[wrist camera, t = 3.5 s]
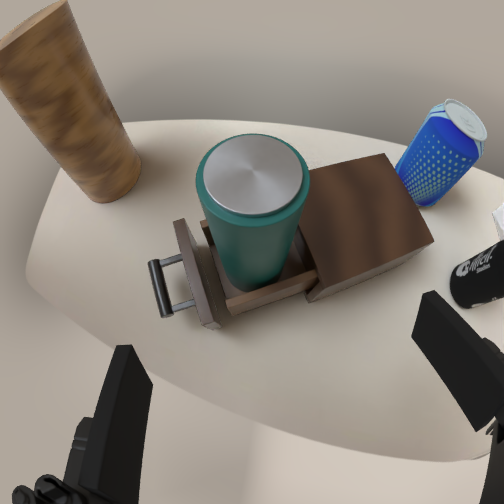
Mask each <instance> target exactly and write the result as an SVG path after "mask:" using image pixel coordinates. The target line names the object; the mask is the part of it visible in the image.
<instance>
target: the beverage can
mask: <svg viewBox="0 0 504 504" xmlns="http://www.w3.org/2000/svg"><path fill="white" fill-rule="evenodd" d="M450 289H451V293H452V296H453V298H454V300H455V301H456V302H457V303H458V304H459V305H460V306H461V307H463V308H466V309H469V308H473V307H476V306H479V305H482V304H485V303H488V302H491V301H494V300H497V299H500V298H503V297H504V240H501V241H500V242H498V243H496V244H495V245H493V246H491V247H490V248H488V249H486V250H485V251H483V252H481V253H479V254H478V255H476V256H474V257H472V258H470V259H469V260H467V261H465V262H463V263H461V264H459V265H458V266H456V267H455V269H454V270H453V272H452V275H451V281H450Z"/></svg>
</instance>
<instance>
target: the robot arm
mask: <svg viewBox="0 0 504 504" xmlns="http://www.w3.org/2000/svg"><path fill="white" fill-rule="evenodd" d="M411 337H412V339H413V340H414V341H415V343H416V344H417V345H418V347H419V348H420V349H421V351H422V352H423V354H424V355H425V356H426V358H427V359H428V360H429V362H430V363H431V365H432V366H433V367H434V369H435V370H436V372H437V373H438V375H439V376H440V377H441V379H442V380H443V382H444V383H445V385H446V386H447V388H448V389H449V391H450V392H451V394H452V395H453V397H454V398H455V400H456V401H457V403H458V404H459V406H460V407H461V409H462V411H463V412H464V414H465V415H466V417H467V418H468V420H469V422H470V423H471V425H472V427H473V428H474V430H475V432H477V431H479V430H480V429H482V428H483V427H484V426H486V425H487V424H488V423H489V422H490V421H491V420H492V419H493V417H494V416H495V418H496V420H495V421H494V422H493V423H492V425H491V426H490V427H489V428H488V429H487V431H486V435H488V433H489V432H490V431H491V430H492V429H493V431H492V432H491V434H490V435H493V437H492V445H491V452H490V458H489V464H488V469H487V475H486V479H485V483H484V488H483V492H482V496H481V499H480V503H479V504H504V354H503V353H502V352H500V349H499V348H498V347H497V346H496V345H495V344H494V343H493V342H492V341H490V340H488V339H487V338H483V339H482V338H481V337H480V336H479V335H478V334H477V333H476V332H475V331H474V330H473V329H472V328H471V326H470V325H469V324H468V323H467V322H466V321H465V320H464V319H463V318H462V317H461V316H460V315H459V314H458V313H457V312H456V311H455V310H454V309H453V308H452V307H451V306H450V305H449V304H448V303H447V302H446V301H445V300H444V299H443V298H442V297H441V296H440V295H439V294H438V293H437V292H436V291H435V290H433V291H430V292H426V293H423V295H422V299H421V303H420V307H419V311H418V315H417V318H416V322H415V325H414V329H413V332H412V336H411ZM152 388H153V384H152V382H151V380H150V378H149V376H148V375H147V373H146V371H145V369H144V367H143V365H142V363H141V362H140V360H139V358H138V356H137V354H136V352H135V350H134V348H133V346H132V345H116V348H115V351H114V354H113V357H112V360H111V363H110V366H109V368H108V372H107V374H106V378H105V381H104V384H103V387H102V390H101V393H100V396H99V400H98V403H97V406H96V410H95V413H94V417H93V418H89V417H84V418H83V419H82V421H81V422H80V423H79V425H78V426H77V428H76V432H75V435H74V440H73V443H72V449H71V450H70V454H69V458H68V462H67V466H66V471H65V475H64V479H63V482H62V481H61V480H59V479H58V478H56V477H55V476H53V475H49V474H46V475H42V476H41V477H40V478H38V479H37V481H36V483H35V488H34V491H33V490H31V489H30V488H28V487H26V486H24V485H20V486H17V487H16V488H15V489H14V491H13V493H12V503H13V504H138V501H139V489H140V478H141V468H142V458H143V450H144V442H145V434H146V427H147V420H148V413H149V407H150V401H151V395H152Z"/></svg>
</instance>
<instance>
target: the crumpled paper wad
mask: <svg viewBox="0 0 504 504" xmlns="http://www.w3.org/2000/svg"><path fill="white" fill-rule="evenodd" d="M492 214H493V217H494V221H495V224H496V227H497V231H498V235H499V238H500V241H501V240H504V203H503V204H502V205H501V206H500V207H499V208H497V209H496V210H495V211H494V212H493V213H492Z"/></svg>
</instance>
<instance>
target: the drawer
mask: <svg viewBox="0 0 504 504" xmlns="http://www.w3.org/2000/svg"><path fill="white" fill-rule="evenodd" d="M200 223H201V227H202V230H203V232H204V234H205V237H206V239H207V242H208V244H209V247H210V250H211V253H212V257H213V260H214V263H215V266H216V269H217V272H218V275H219V278H220V282H221V285H222V288H223V291H224V294H225V297H226V300H225V303H226V306H227V308H228V310H229V311H230V313H231V315H232V316H233V315H236V314H239V313H242V312H245V311H248V310H251V309H254V308H257V307H260V306H263V305H266V304H269V303H271V302H274V301H277V300H280V299H283V298H285V297H288V296H291V295H294V294H296V293H299V292H302V291H305V290H307V289H310V288H313V287H315V286H316V285H317V284H318V283H319V282H320V281H319V278H318V276H317V273H316V271H315V269H314V266H313V264H312V261H311V259H310V257H309V254H308V252H307V250H306V247H305V245H304V243H303V240H302V238H301V236H300V233H299V231H298V229H296V232H295V235H294V238H293V241H292V244H291V247H290V250H289V253H288V256H287V259H286V261H285V264H284V267H283V270H282V273H281V276H280V278H279V280H278V281H277V282H276V283H274V284H271V285H268V286H265V287H263V288H260V289H257V290H254V291H251V292H248V293H247V292H243V291H241V290H239V289H237V288H236V287H235V286H233V285H232V284H231V282H230V281H229V280H228V278H227V276H226V273H225V271H224V268H223V265H222V262H221V260H220V257H219V254H218V251H217V248H216V245H215V243H214V240H213V237H212V234H211V231H210V228H209V225H208V223H207V220H203V221H200ZM173 224H174V228H175V232H176V236H177V240H178V244H179V248H180V252H181V254H178V255H175V256H172V257H169V258H167V259H164V260H161V261H160V260H159V259H154V260H151V261H149V262H148V267H149V272H150V276H151V280H152V285H153V289H154V293H155V297H156V301H157V305H158V309H159V312H160V316H161V318H167V317H171V316H173V315H174V312H177V311H181V310H184V309H187V308H190V307H193V306H196V308H197V311H198V315H199V318H200V321H201V324H202V326H204V327H207V328H209V329H211V330H215V329H218V328H221V327H222V324H221V321H220V318H219V315H218V312H217V309H216V306H215V303H214V299H213V296H212V293H211V290H210V287H209V284H208V280H207V277H206V274H205V271H204V267H203V264H202V261H201V257H200V254H199V251H198V247H197V244H196V241H195V239H194V237H193V235H192V233H191V231H190V229H189V227H188V225H187V223H186V221H185V219H184V218H183V219H180V220H177V221H174V222H173ZM180 261H183V263H184V267H185V270H186V274H187V277H188V281H189V284H190V288H191V291H192V295H193V298H194V299H192V300H189V301H186V302H183V303H180V304H177V305H174V306H172V305H171V301H170V298H169V294H168V290H167V286H166V282H165V278H164V274H163V270H162V267H165V266H168V265H171V264H174V263H177V262H180Z"/></svg>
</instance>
